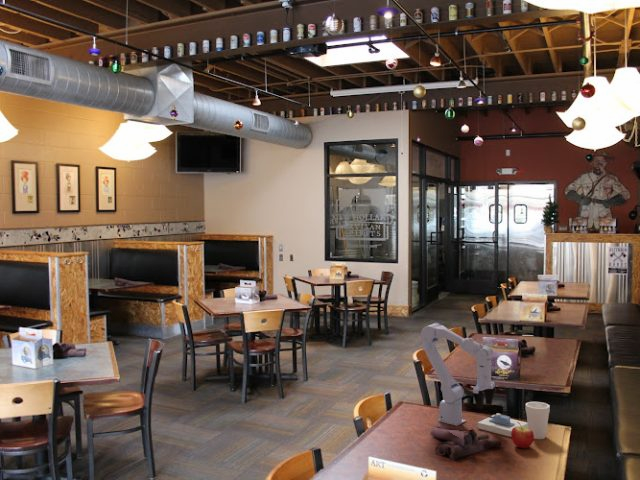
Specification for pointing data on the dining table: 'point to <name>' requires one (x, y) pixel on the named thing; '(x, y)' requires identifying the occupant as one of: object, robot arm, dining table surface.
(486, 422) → the chassis plate
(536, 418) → the foam cup
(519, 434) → the apple
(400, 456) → the dining table surface
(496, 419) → the servo
